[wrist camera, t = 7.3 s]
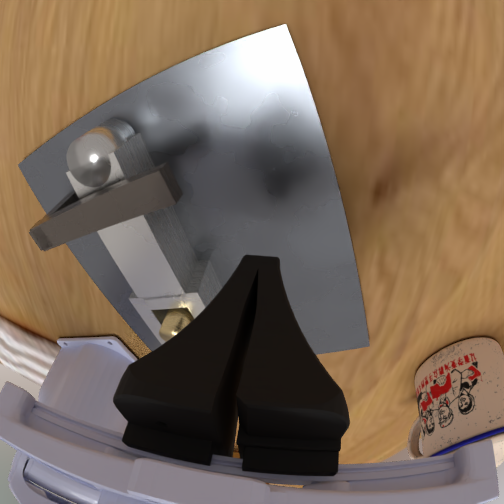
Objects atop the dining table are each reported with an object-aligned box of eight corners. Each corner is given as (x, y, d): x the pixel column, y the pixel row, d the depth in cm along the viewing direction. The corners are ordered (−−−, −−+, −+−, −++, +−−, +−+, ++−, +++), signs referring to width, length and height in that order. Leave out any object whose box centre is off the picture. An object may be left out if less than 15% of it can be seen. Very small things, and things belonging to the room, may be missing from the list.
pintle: (185, 301, 20) (168, 346, 18) (172, 283, 19) (153, 328, 17) (206, 298, 20) (191, 344, 17) (195, 279, 19) (177, 326, 16)
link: (234, 312, 20) (226, 345, 18) (174, 316, 21) (162, 346, 19) (143, 104, 13) (115, 120, 11) (76, 135, 14) (45, 155, 12)
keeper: (77, 212, 17) (42, 252, 14) (66, 193, 16) (27, 231, 13) (203, 163, 14) (176, 204, 11) (191, 136, 13) (159, 170, 11)
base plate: (167, 360, 27) (165, 365, 26) (23, 160, 16) (17, 164, 15) (368, 339, 21) (369, 346, 21) (286, 24, 10) (285, 24, 10)
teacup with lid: (463, 322, 19) (499, 471, 10) (517, 344, 20) (549, 457, 11) (371, 396, 27) (373, 512, 18) (434, 406, 28) (443, 503, 19)
